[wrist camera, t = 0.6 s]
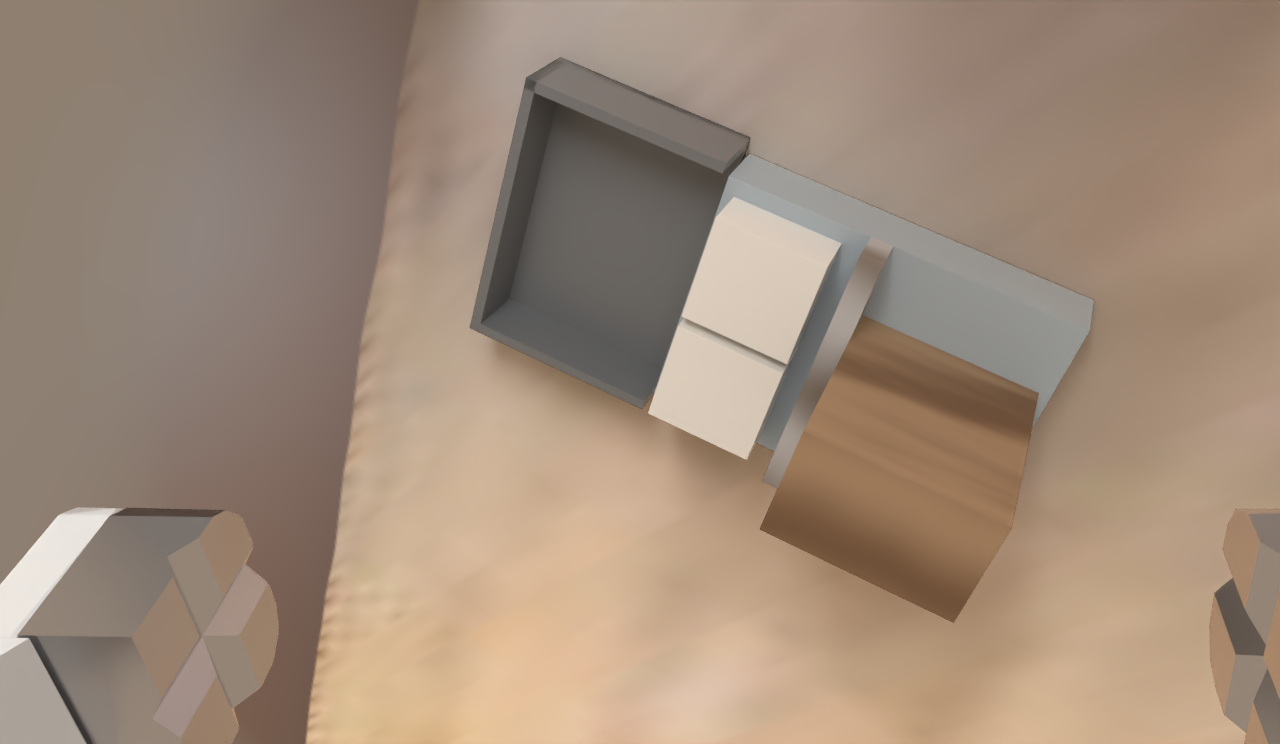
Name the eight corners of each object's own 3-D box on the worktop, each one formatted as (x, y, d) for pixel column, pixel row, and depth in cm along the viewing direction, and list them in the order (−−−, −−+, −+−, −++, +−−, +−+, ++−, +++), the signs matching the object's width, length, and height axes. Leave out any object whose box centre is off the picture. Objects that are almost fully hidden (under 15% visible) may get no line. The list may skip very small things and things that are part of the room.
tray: (560, 57, 55) (526, 77, 52) (750, 137, 53) (725, 163, 50) (502, 298, 62) (469, 328, 59) (667, 375, 61) (641, 409, 58)
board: (749, 153, 54) (728, 175, 51) (1094, 300, 51) (1089, 330, 48) (674, 366, 60) (653, 394, 58) (975, 505, 58) (966, 541, 55)
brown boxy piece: (870, 237, 50) (810, 343, 42) (1077, 325, 48) (1057, 453, 40) (776, 452, 57) (709, 580, 49) (955, 536, 55) (917, 682, 47)
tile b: (696, 301, 55) (678, 325, 53) (797, 347, 54) (782, 373, 52) (666, 387, 57) (647, 413, 55) (762, 432, 57) (746, 460, 55)
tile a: (733, 196, 51) (715, 217, 49) (841, 243, 51) (827, 266, 49) (699, 292, 54) (681, 316, 52) (801, 338, 53) (786, 364, 51)
